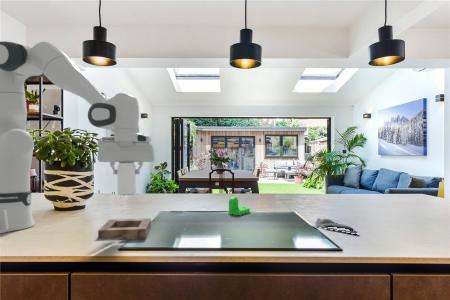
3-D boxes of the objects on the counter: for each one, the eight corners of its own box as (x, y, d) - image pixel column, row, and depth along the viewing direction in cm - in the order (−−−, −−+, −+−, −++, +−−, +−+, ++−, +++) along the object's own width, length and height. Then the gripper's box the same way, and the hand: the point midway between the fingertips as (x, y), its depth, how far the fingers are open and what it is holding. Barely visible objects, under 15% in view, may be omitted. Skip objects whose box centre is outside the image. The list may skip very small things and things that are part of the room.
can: (114, 195, 108) (113, 162, 108) (123, 192, 114) (123, 161, 114) (130, 195, 107) (130, 162, 106) (138, 192, 113) (138, 161, 113)
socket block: (98, 240, 101) (98, 230, 101) (109, 228, 117) (109, 219, 117) (146, 238, 104) (146, 228, 104) (150, 227, 119) (150, 218, 119)
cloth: (305, 219, 136) (305, 215, 136) (335, 219, 136) (335, 214, 136) (328, 236, 110) (328, 230, 110) (364, 236, 110) (364, 230, 110)
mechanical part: (238, 215, 142) (239, 199, 142) (228, 214, 145) (228, 197, 145) (251, 211, 151) (251, 196, 151) (242, 210, 155) (242, 194, 155)
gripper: (95, 136, 106) (95, 175, 106) (153, 137, 109) (153, 174, 109) (99, 137, 112) (99, 173, 112) (155, 137, 115) (155, 173, 115)
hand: (126, 174), depth 110 cm, fingers closed on can, 6 cm apart
